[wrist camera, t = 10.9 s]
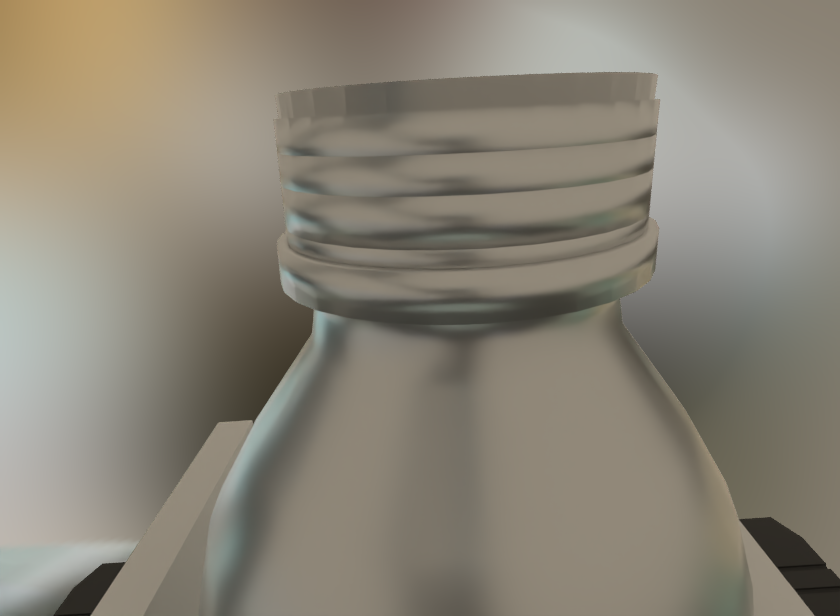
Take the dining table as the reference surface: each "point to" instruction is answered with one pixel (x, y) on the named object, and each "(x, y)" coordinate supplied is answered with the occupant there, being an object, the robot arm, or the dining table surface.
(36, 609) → the dining table surface
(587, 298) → the plastic bottle
